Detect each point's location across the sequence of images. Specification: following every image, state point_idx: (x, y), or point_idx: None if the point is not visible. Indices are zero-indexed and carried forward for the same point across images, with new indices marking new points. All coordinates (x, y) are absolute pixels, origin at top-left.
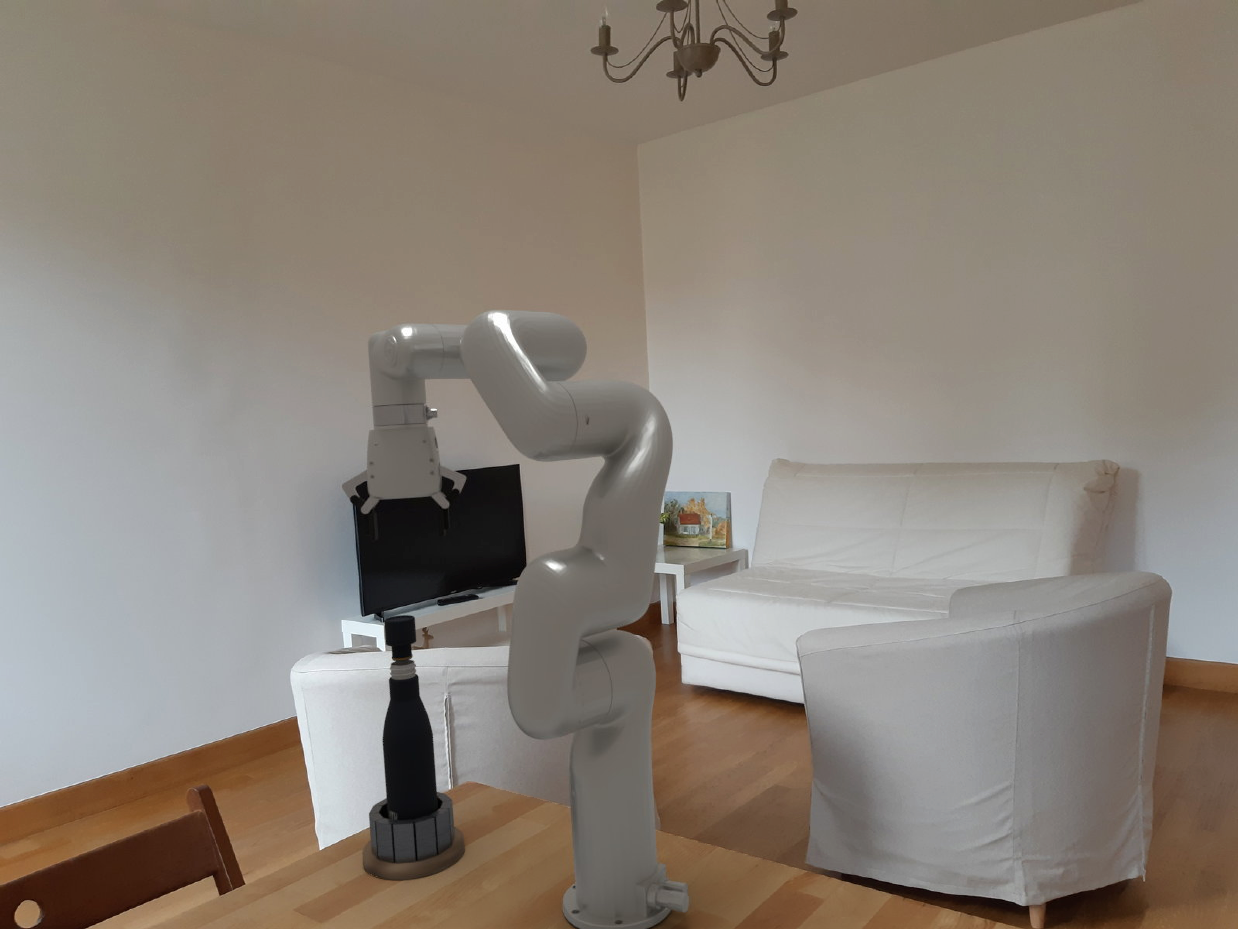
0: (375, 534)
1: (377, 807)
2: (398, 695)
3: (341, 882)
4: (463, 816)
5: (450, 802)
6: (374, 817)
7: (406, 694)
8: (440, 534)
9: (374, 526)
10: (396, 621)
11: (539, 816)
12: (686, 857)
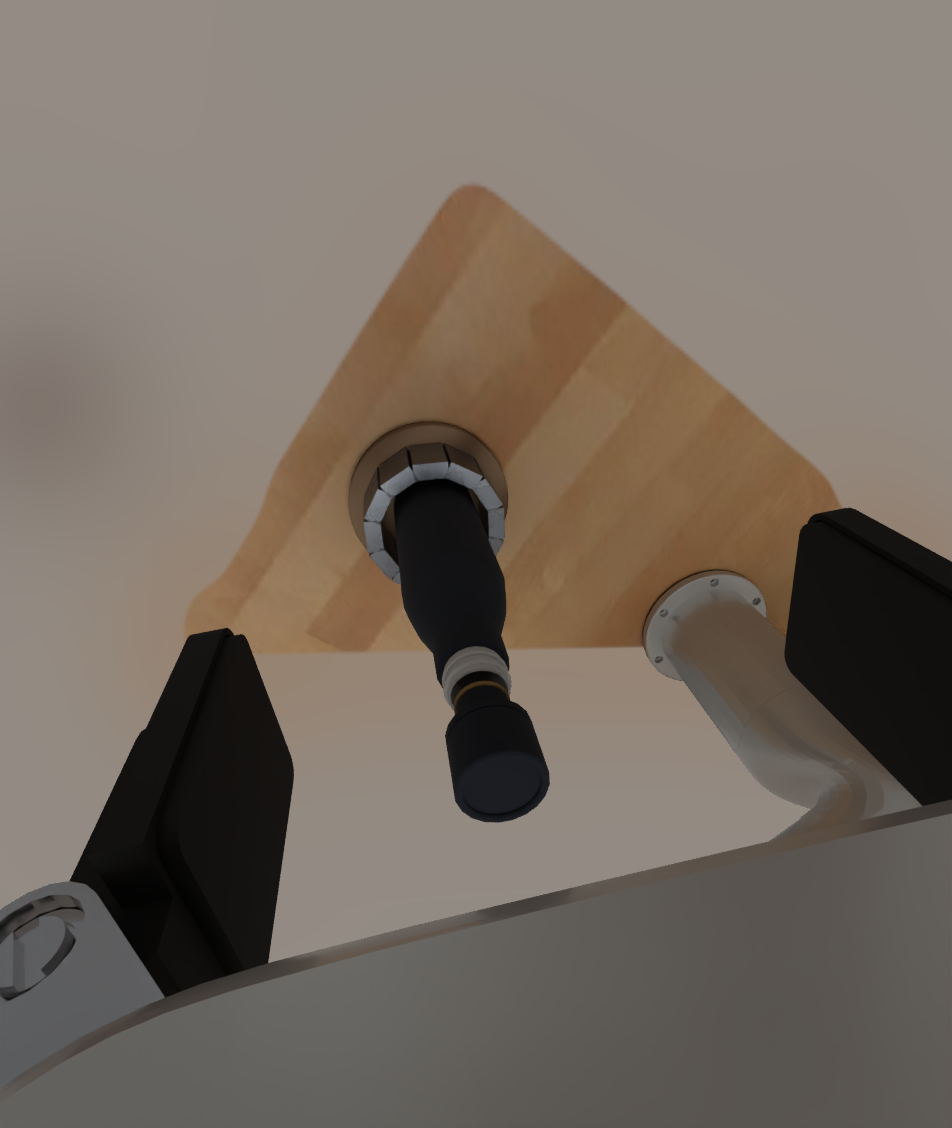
0: (281, 785)
1: (374, 530)
2: (462, 677)
3: (342, 571)
4: (479, 353)
5: (502, 516)
6: (383, 567)
7: (480, 674)
8: (800, 669)
9: (277, 866)
10: (503, 821)
11: (617, 366)
12: (804, 517)
